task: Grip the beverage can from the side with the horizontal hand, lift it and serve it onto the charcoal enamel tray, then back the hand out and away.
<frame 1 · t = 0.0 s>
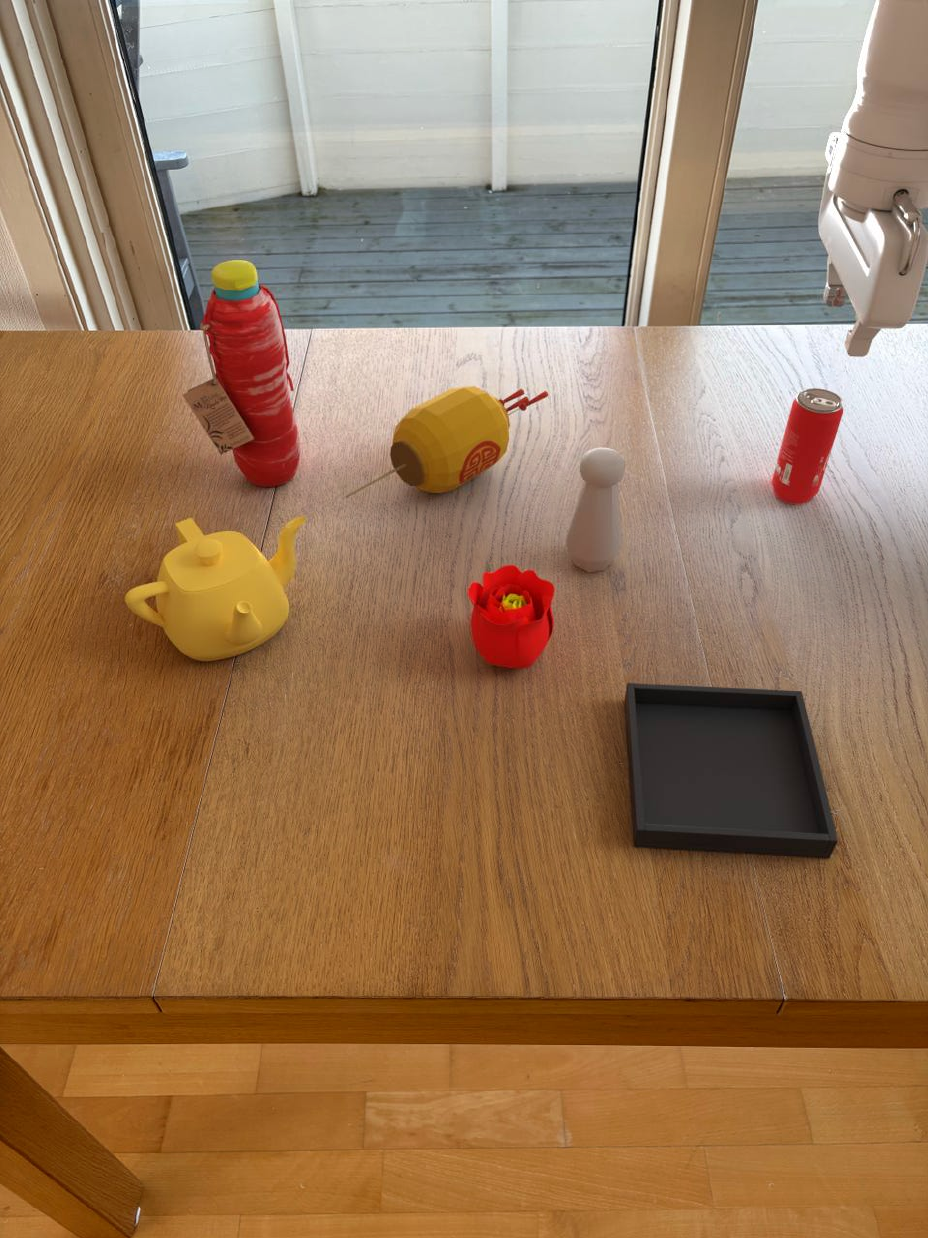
hand: (843, 327, 87), 23 cm above the table, tool pointing down, fingers open, 8 cm apart
beverage can: (792, 494, 108), on the table
teapot: (236, 626, 93), on the table
flower: (510, 654, 90), on the table
tray: (719, 774, 80), on the table
lantern: (451, 476, 111), on the table
salt shaker: (591, 560, 100), on the table
water bottle: (261, 480, 110), on the table
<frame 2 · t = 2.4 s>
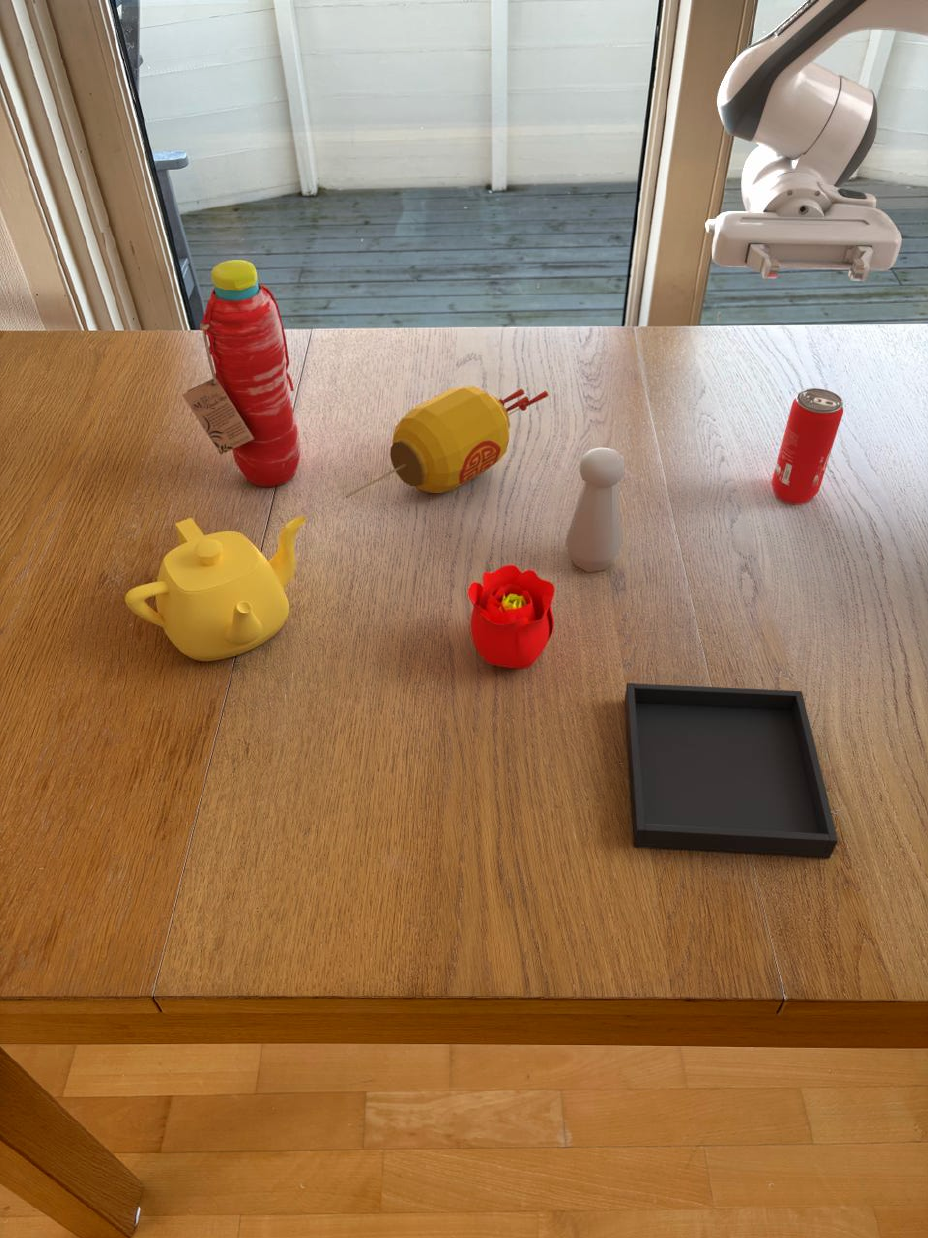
hand: (816, 273, 102), 20 cm above the table, tool horizontal, fingers open, 8 cm apart
nothing on the table moved.
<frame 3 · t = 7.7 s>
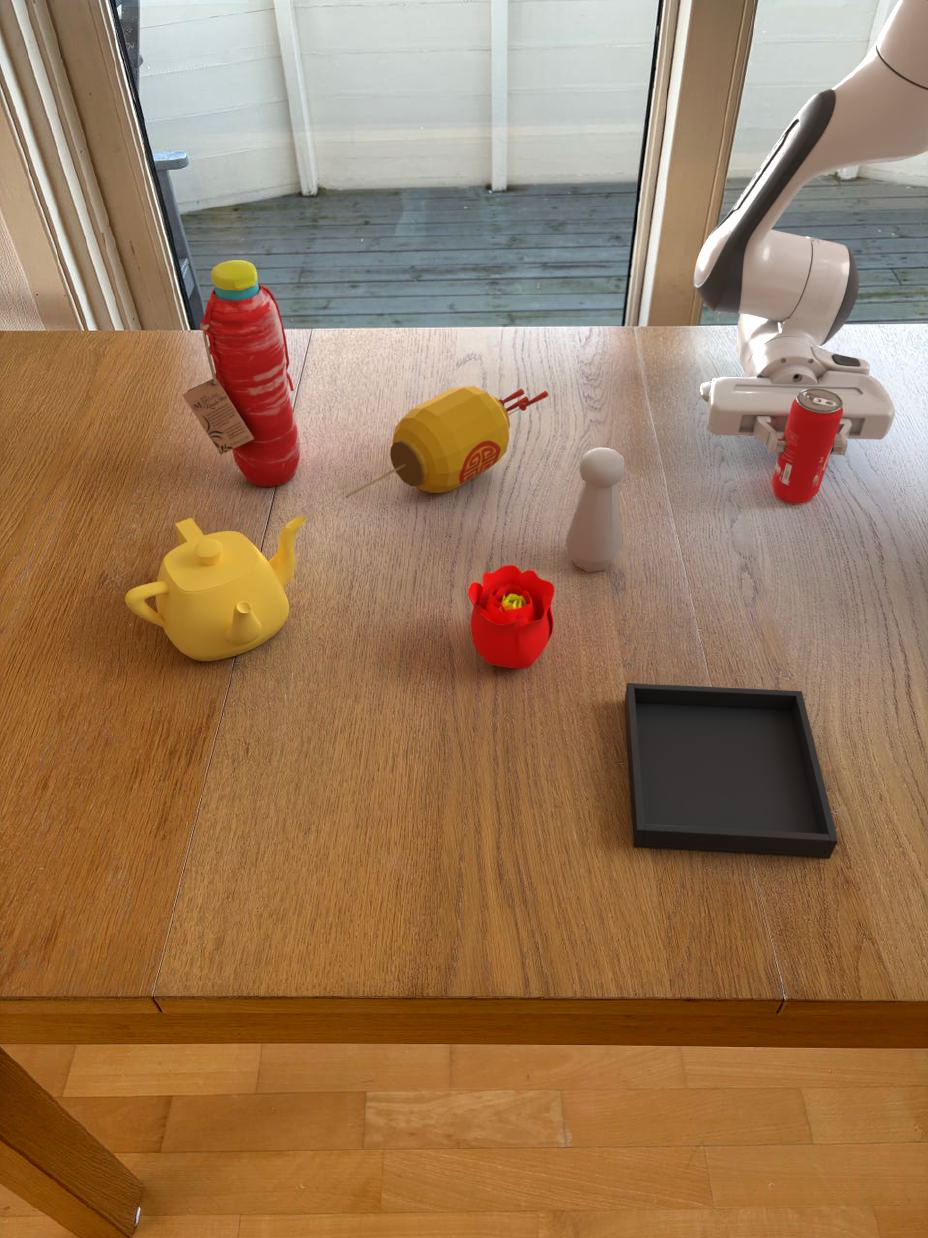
hand: (809, 449, 102), 7 cm above the table, tool horizontal, fingers closed on beverage can, 5 cm apart
beverage can: (792, 494, 108), on the table, touching gripper
everything else where it was.
when the fingers open (7 cm above the table, at t = 18.4 s): beverage can stays where it is, resting on tray.
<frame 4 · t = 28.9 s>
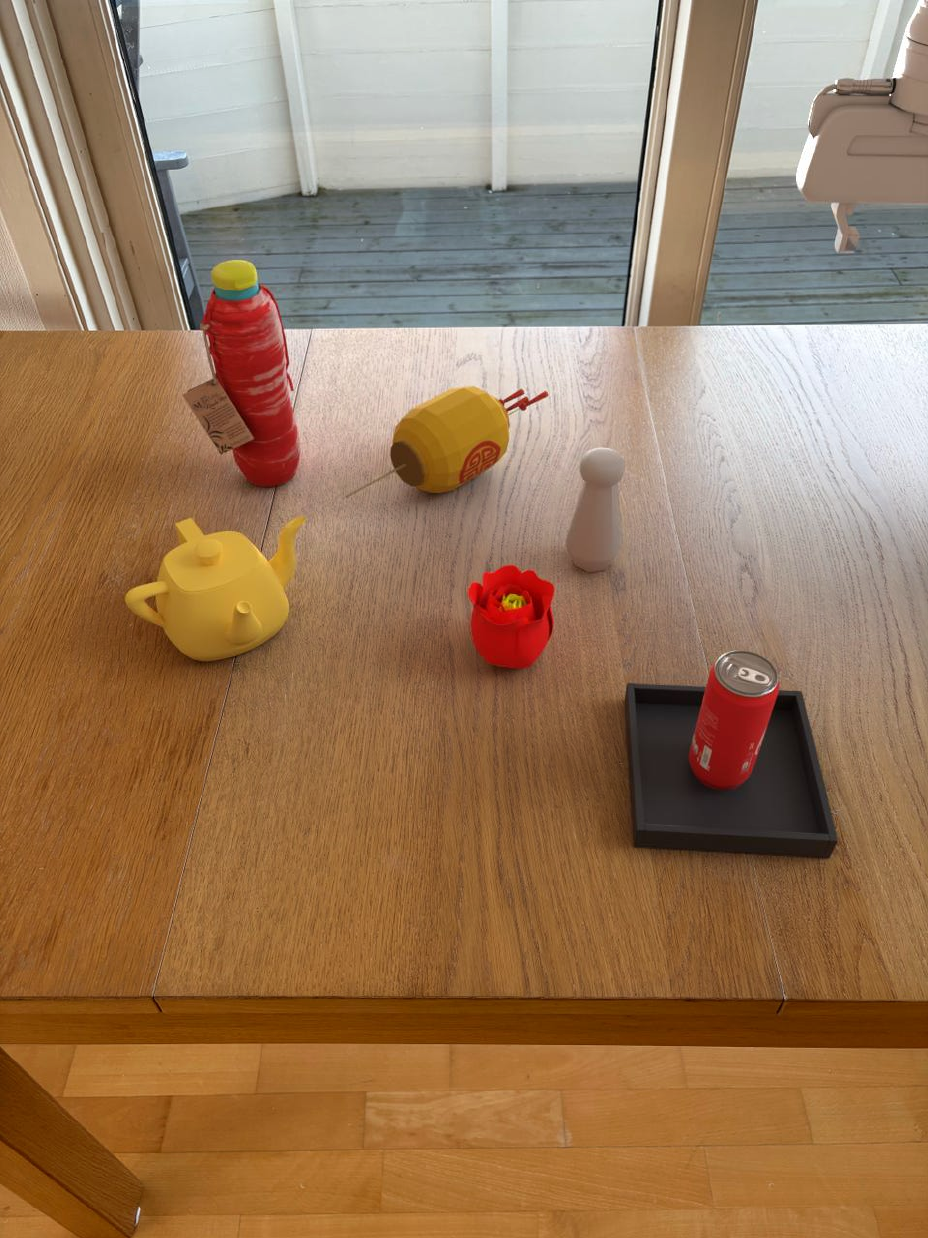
hand: (897, 251, 85), 29 cm above the table, tool pointing down, fingers open, 8 cm apart
beverage can: (717, 770, 80), resting on tray
everything else where it was.
at the end: beverage can inside the target area in the tray (0.2 cm from its centre), point 0.3 cm above the tray's base; beverage can tilted 0°; the gripper is holding nothing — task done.
